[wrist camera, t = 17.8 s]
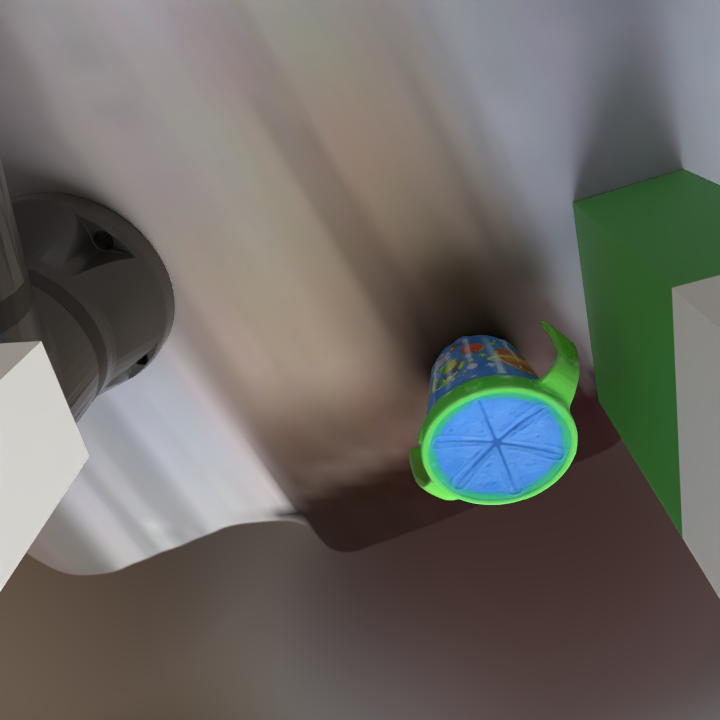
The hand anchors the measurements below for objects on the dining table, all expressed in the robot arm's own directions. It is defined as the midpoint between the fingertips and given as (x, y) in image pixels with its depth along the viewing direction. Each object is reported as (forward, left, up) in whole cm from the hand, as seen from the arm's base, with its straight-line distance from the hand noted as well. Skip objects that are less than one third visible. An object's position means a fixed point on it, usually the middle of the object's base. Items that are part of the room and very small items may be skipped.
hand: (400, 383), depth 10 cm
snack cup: (+7, -19, -31) cm, 37 cm away
